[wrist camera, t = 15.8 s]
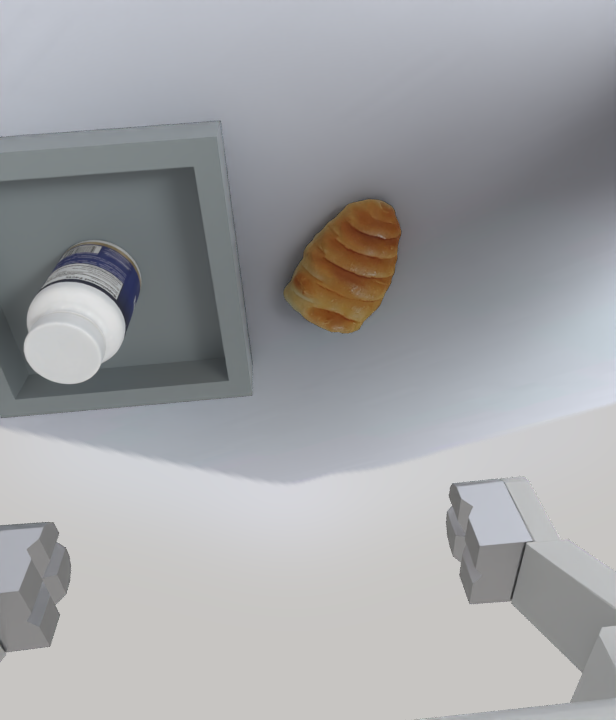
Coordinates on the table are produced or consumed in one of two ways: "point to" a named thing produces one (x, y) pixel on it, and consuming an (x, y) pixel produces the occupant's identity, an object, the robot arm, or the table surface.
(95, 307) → the pill bottle
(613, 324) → the table surface
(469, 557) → the robot arm
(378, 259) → the pastry
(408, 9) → the table surface
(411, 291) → the table surface
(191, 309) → the tray
